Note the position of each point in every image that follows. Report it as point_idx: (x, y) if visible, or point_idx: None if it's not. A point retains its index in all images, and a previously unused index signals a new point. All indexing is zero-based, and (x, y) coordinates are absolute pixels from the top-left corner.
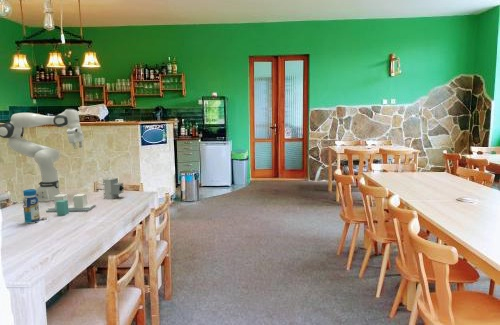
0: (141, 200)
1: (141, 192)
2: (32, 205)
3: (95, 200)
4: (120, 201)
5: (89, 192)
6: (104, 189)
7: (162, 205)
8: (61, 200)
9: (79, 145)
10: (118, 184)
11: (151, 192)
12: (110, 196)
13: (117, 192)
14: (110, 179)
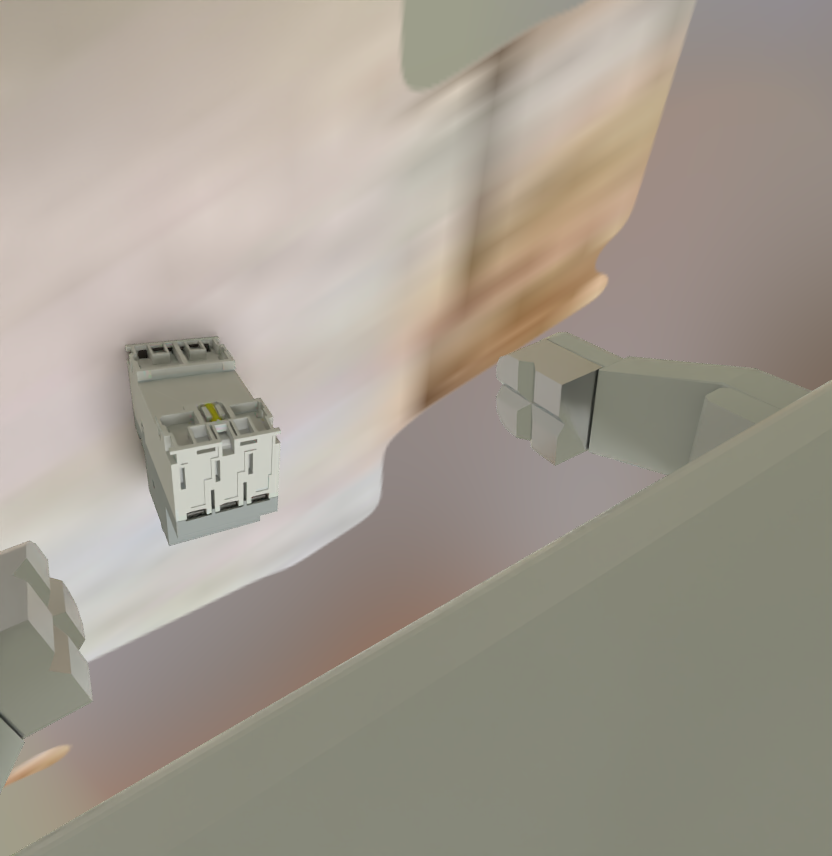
0: (139, 606)
1: (366, 459)
2: None
3: (22, 314)
4: (63, 525)
5: (375, 14)
6: (145, 399)
7: (44, 761)
8: None
9: (557, 406)
10: (180, 542)
11: (365, 507)
12: (137, 413)
13: (151, 492)
14: (186, 515)
